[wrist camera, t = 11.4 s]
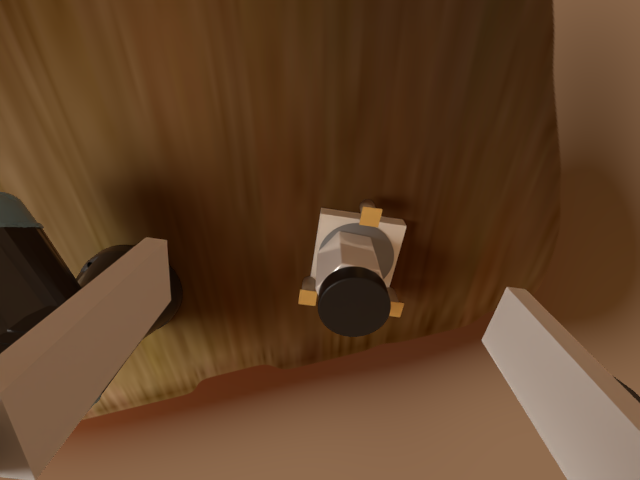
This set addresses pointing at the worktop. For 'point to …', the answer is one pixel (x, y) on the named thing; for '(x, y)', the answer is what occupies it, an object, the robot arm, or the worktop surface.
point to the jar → (351, 286)
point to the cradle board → (366, 223)
